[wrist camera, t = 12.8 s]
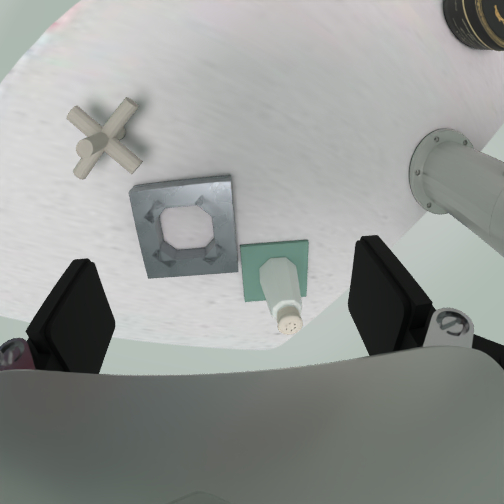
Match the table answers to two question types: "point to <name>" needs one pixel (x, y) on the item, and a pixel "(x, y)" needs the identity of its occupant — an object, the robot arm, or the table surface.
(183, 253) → the frame
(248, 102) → the table surface
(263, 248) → the mat
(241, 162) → the table surface
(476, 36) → the jar
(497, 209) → the robot arm
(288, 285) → the pepper shaker
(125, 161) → the pipe connector
